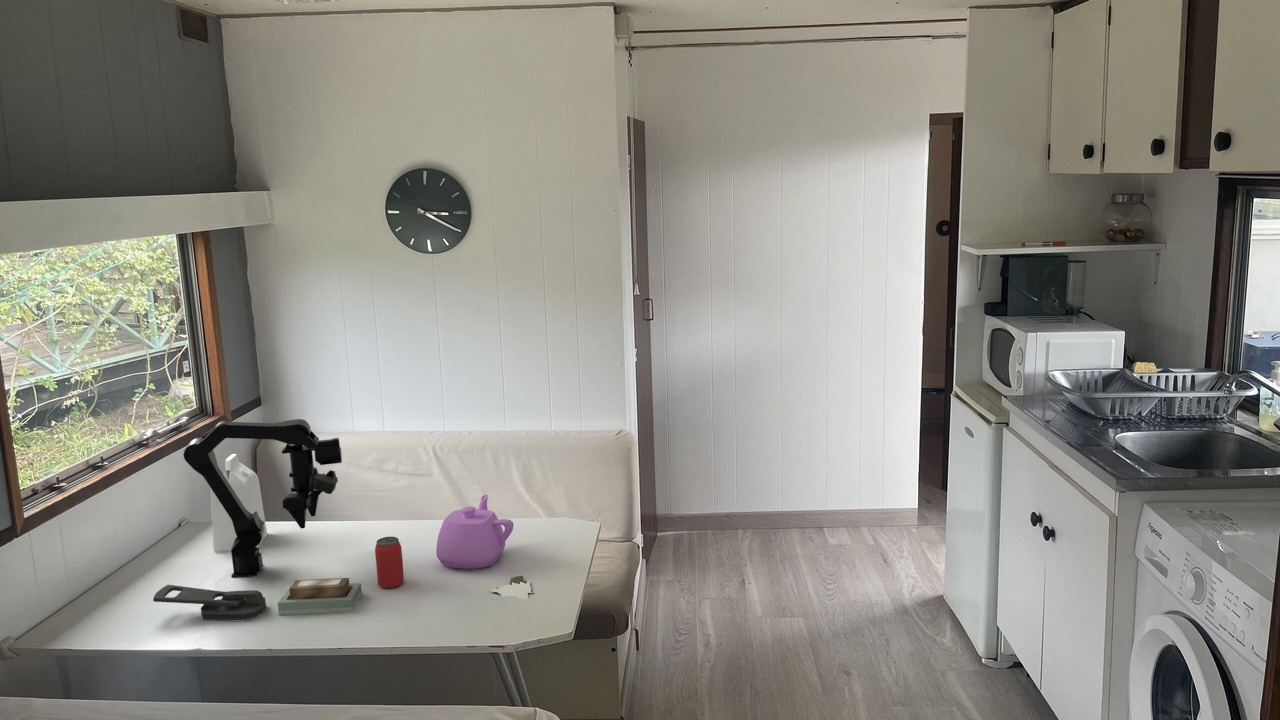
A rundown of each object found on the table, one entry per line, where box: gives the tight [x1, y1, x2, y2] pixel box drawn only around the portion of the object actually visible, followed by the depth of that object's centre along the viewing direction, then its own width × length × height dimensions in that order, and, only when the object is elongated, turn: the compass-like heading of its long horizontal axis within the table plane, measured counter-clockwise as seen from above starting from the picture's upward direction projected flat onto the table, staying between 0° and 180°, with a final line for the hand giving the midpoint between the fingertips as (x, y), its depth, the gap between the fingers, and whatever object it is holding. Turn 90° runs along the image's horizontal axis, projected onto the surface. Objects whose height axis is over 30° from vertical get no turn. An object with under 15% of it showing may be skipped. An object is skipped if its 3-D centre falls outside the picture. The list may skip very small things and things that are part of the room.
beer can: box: [374, 536, 405, 590], centre depth 243 cm, size 7×7×12 cm
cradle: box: [277, 582, 363, 616], centre depth 233 cm, size 18×10×3 cm, turn 92°
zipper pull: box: [152, 584, 267, 621], centre depth 230 cm, size 9×7×25 cm
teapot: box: [435, 494, 514, 569], centre depth 259 cm, size 23×21×15 cm
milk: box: [209, 453, 268, 553], centre depth 273 cm, size 12×12×26 cm
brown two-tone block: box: [288, 577, 350, 600], centre depth 233 cm, size 13×5×5 cm, turn 92°
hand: (308, 522), depth 257 cm, fingers open, 9 cm apart
